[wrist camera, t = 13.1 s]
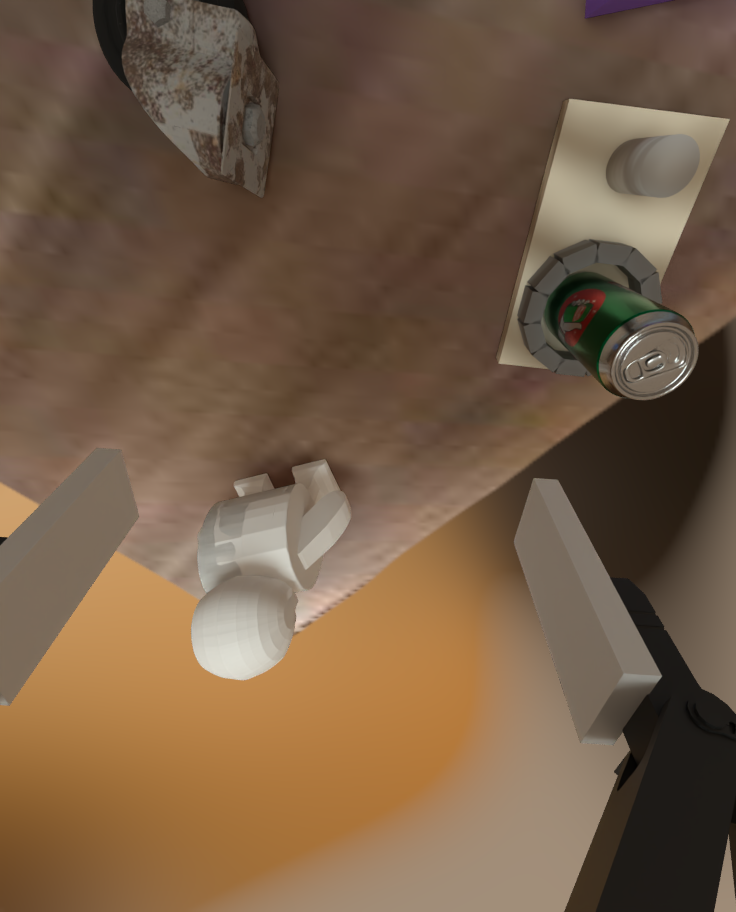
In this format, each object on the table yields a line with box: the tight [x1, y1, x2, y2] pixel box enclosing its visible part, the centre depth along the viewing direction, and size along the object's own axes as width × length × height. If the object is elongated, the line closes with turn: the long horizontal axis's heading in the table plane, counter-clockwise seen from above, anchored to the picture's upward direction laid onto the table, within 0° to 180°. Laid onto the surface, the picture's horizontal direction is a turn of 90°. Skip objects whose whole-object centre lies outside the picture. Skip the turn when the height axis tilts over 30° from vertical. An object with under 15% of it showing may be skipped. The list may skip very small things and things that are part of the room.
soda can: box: [545, 272, 699, 400], centre depth 29 cm, size 5×5×12 cm
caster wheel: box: [93, 0, 279, 198], centre depth 27 cm, size 7×11×10 cm
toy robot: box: [191, 459, 351, 680], centre depth 38 cm, size 14×9×20 cm, turn 107°
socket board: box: [496, 99, 730, 377], centre depth 31 cm, size 17×10×6 cm, turn 174°
